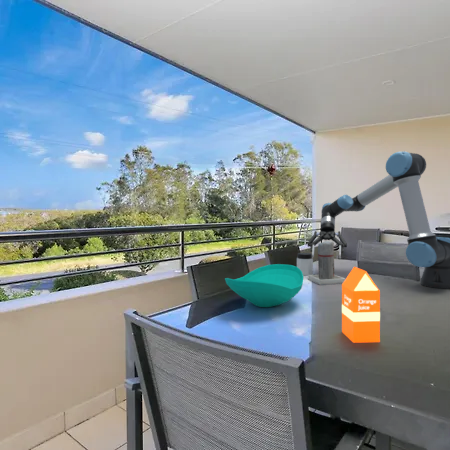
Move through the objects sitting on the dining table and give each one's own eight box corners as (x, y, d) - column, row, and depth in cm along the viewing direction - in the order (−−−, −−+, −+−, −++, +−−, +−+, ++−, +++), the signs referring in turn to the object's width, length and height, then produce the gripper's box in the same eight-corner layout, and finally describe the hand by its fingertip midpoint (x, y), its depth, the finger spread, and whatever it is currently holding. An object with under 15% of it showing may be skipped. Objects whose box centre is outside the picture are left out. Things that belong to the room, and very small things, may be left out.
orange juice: (366, 331, 106) (366, 266, 105) (380, 342, 97) (380, 271, 96) (341, 331, 106) (341, 266, 105) (352, 342, 97) (352, 271, 96)
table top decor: (257, 290, 161) (257, 262, 161) (316, 298, 146) (316, 266, 146) (207, 312, 128) (206, 276, 128) (276, 325, 113) (276, 284, 112)
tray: (346, 283, 173) (346, 278, 173) (319, 285, 171) (319, 280, 171) (332, 278, 187) (332, 273, 187) (308, 279, 185) (308, 275, 185)
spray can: (331, 282, 173) (331, 242, 172) (315, 280, 178) (315, 241, 177) (337, 279, 180) (337, 240, 179) (321, 277, 185) (321, 240, 184)
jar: (306, 276, 193) (306, 255, 193) (294, 274, 199) (294, 253, 198) (315, 274, 199) (315, 253, 199) (303, 272, 205) (303, 252, 205)
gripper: (351, 230, 193) (351, 261, 180) (305, 230, 201) (302, 259, 188) (351, 221, 188) (351, 252, 174) (304, 221, 196) (301, 251, 183)
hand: (326, 256), depth 181 cm, fingers open, 13 cm apart
